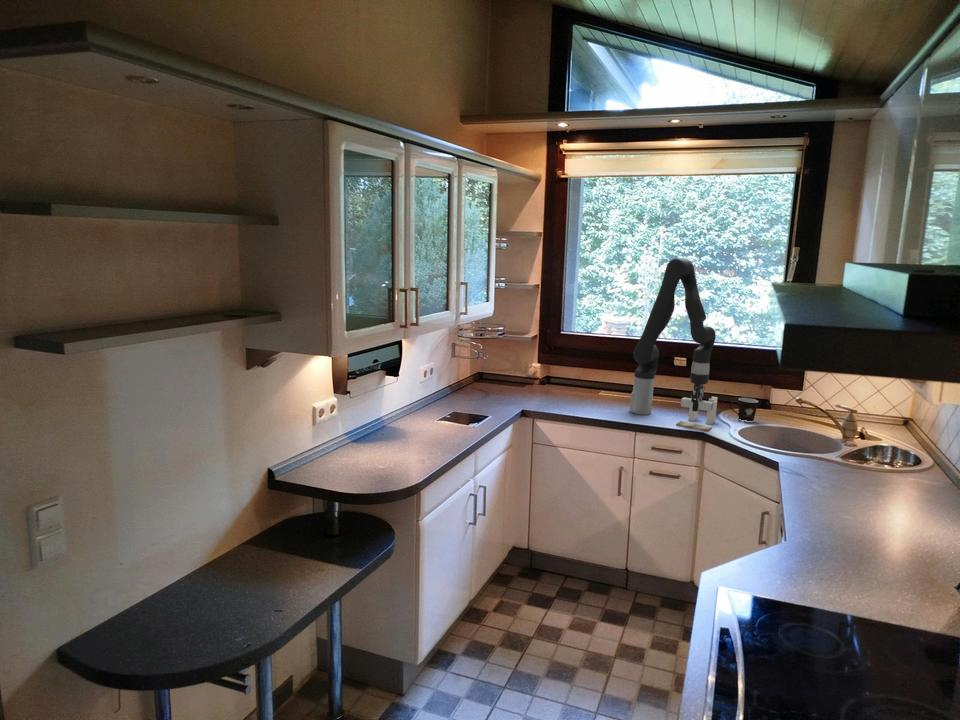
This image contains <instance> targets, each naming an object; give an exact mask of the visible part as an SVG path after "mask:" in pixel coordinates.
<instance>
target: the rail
mask: <svg viewBox="0 0 960 720" xmlns="http://www.w3.org/2000/svg"><path fill="white" fill-rule="evenodd" d="M694 400H696V399H694ZM680 407H683V408H689V409H690V408H693V402H691V397H682V398H681V402H680ZM698 409H699V410H700V411H706V412H707V411H712V410H713V402H710V401H709V400H703V399H702V400H699V403H698ZM699 410H698V411H699Z"/></svg>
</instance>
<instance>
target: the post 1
mask: <svg viewBox="0 0 960 720" xmlns="http://www.w3.org/2000/svg"><path fill="white" fill-rule="evenodd" d="M695 399H696V398H695ZM688 411H689V412H688V421H691V422H694V421H696V420H697V419H698V417H699V410H698V411H697V412H696V411H692V408H689V410H688Z"/></svg>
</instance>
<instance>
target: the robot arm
mask: <svg viewBox="0 0 960 720" xmlns="http://www.w3.org/2000/svg"><path fill="white" fill-rule="evenodd" d="M695 271H696V270H695V267H694V263H693V262H692V261H691V260H690V259H688V258H685V257H684V258H682V257H674V258H672V259H670V260H669V261H668V263H667V265H666V267H665V270H664V274H663V278H662V282H661V285H660V288H659V290H658V293H657V296H656V299H655V301H654V303H653V306H652V309H651V311H650V313H649V316H648V320H647V321H646V325H645V327H644V330H643V332H642V334H641V336H640V338H639V340H638V342H637V344H636V346H635V348H634V350H633V358H634V361H635V362H637V364H638V366H637V368H636V369H635V370H634V377H633V389H632V392H631V393H630V404H629V413H633V414H637V415H640V416H641V415H644V416H645V415H646V416H647V415H651V413H652V408H653V406H652V405H653V396H654V384H655V377H656V374H657V370H658V366H659V365H658V364H659V357H660V351H659V348H658V346H657V345H656V342H657V340H658V338H659V337H660V335H661V334H662V333H663V331H664V330H665V329H666V328H667V326H668V325H669V323H670V321H671V318H672V315H673V313H674V311H675V307H676V306H675V292H676V289H677V287H678V285H679V282H680V281H681V283H682V285H683V289H684V305H685V310H686V313H687V314H686V315H687V317H688V319H689V327H690V336H691V338H692V341H693V342H695V343H696V344H698V345H699V346H698V347H697V348H695V349H694V350H693V354H692V355H693V357H692V364H691V369H690V370H691V371H690V378H689V379H690V380H689V381H690V382H691V383H692V384H694V385H693V386H692V389H691V391H690V392H691V393H690V394H691V395H690V398H691V402H693V408H692V411H696V412H697V411H698V412H699V409H698V403H699V400H703V399H704V393H705V391H706V390H705V389H706V386H705V385H707V384H708V383H709V377H710V360H711V353H712V351H713V348H714V344H715V341H716V337H717V336H716V331H715V329H714V328H713V327H711V326H704V322H705V321H706V319H707V315H706V312H705V309H704V306H703V303H702V300H701V297H700V294H699V292H700V291H699V288H698V283H697V279H696V272H695ZM695 398H696V400H694V399H695Z"/></svg>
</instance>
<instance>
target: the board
mask: <svg viewBox="0 0 960 720" xmlns="http://www.w3.org/2000/svg"><path fill="white" fill-rule="evenodd" d="M675 426H677V427H680V428H681V427H683V428H687V429H692V430H698V431H701V432H702V431H703V432H708V433H709V432H710V430H712V426H709V425H703V424H697V423H694V422H687V421H682V420H680V421H678V422H676V424H675Z"/></svg>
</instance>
